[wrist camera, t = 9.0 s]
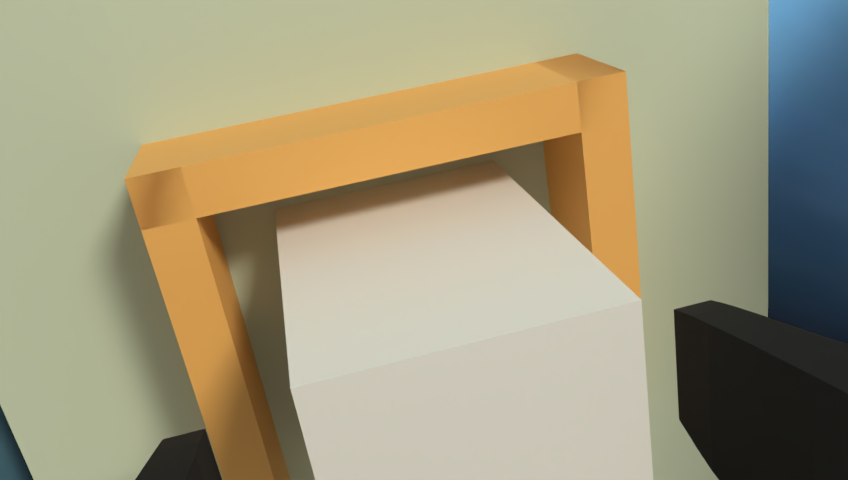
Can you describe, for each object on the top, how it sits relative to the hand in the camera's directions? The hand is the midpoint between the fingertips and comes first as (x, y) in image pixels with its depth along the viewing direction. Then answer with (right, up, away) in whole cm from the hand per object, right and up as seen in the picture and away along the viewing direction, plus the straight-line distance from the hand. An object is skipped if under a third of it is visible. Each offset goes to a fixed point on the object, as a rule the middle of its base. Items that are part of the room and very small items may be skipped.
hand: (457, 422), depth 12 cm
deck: (-1, +2, +4) cm, 5 cm away
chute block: (-1, +1, +3) cm, 4 cm away
